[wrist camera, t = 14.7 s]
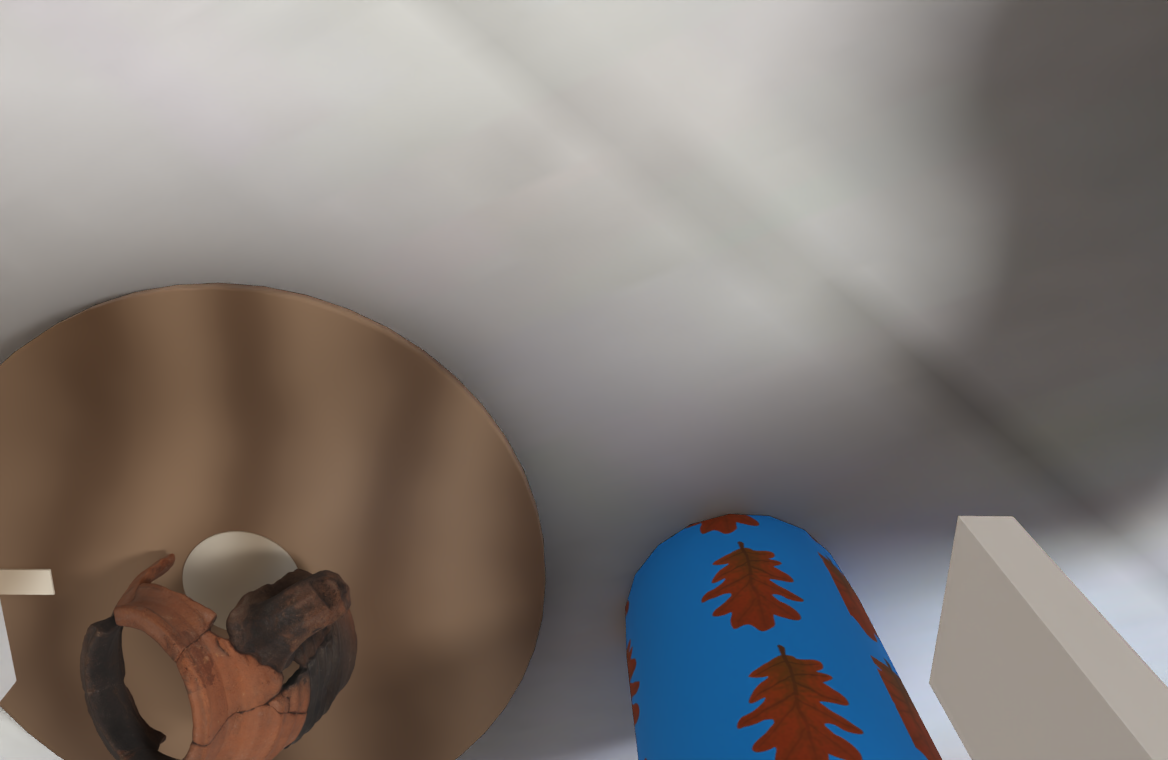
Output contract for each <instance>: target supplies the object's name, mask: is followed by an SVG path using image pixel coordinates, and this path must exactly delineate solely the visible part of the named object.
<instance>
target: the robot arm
mask: <svg viewBox="0 0 1168 760" xmlns="http://www.w3.org/2000/svg"><path fill="white" fill-rule="evenodd" d="M15 682H16V676H15V671H14V666H13V661H12V656H11V651H10V646H9V641H8V636H7V631H6V626H5V621H4V616H3V611H2V606H1V601H0V701H1V700H2V699H3V697H4V696H5V695H6V694H7V692H8V691H9V690H10V689H11V687H12V686H13V685H14V684H15ZM929 684H930V686H931V687H932V689H933V691H934V693H935V695H936V696H937V698H938V700H939V702H940V704H941V705H942V707H943V709H944V711H945V713H946V714H947V716H948V718H949V720H950V721H951V723H952V725H953V727H954V729H955V730H956V732H957V734H958V736H959V738H960V739H961V741H962V743H963V745H964V747H965V748H966V750H967V752H968V754H969V756H970V757H971V759H972V760H1168V687H1167V686H1166V685H1165V684H1164V683H1163V682H1162V681H1161V680H1160V678H1159V677H1158V676H1157V675H1156V674H1155V673H1154V672H1153V671H1152V670H1151V669H1150V667H1149V666H1148V665H1147V664H1146V663H1145V662H1144V661H1143V660H1142V659H1141V657H1140V656H1139V655H1138V654H1137V653H1136V652H1135V651H1134V650H1133V649H1132V648H1131V646H1130V645H1129V644H1128V643H1127V642H1126V641H1125V640H1124V639H1123V638H1122V636H1121V635H1120V634H1119V633H1118V632H1117V631H1116V630H1115V629H1114V628H1113V627H1112V625H1111V624H1110V623H1109V622H1108V621H1107V620H1106V619H1105V618H1104V617H1103V615H1102V614H1101V613H1100V612H1099V611H1098V610H1097V609H1096V608H1095V607H1094V605H1093V604H1092V603H1091V602H1090V601H1089V600H1088V599H1087V598H1086V597H1085V596H1084V594H1083V593H1082V592H1081V591H1080V590H1079V589H1078V588H1077V587H1076V586H1075V584H1074V583H1073V582H1072V581H1071V580H1070V579H1069V578H1068V577H1067V576H1066V575H1065V573H1064V572H1063V571H1062V570H1061V569H1060V568H1059V567H1058V566H1057V565H1056V563H1055V562H1054V561H1053V560H1052V559H1051V558H1050V557H1049V556H1048V555H1047V553H1046V552H1045V551H1044V550H1043V549H1042V548H1041V547H1040V546H1039V545H1038V544H1037V542H1036V541H1035V540H1034V539H1033V538H1032V537H1031V536H1030V535H1029V534H1028V532H1027V531H1026V530H1025V529H1024V528H1023V527H1022V526H1021V525H1020V524H1019V523H1018V521H1017V520H1016V519H1015V518H1014V517H1013V516H958V520H957V525H956V531H955V537H954V543H953V548H952V554H951V560H950V566H949V571H948V577H947V583H946V589H945V594H944V600H943V606H942V612H941V617H940V623H939V629H938V635H937V640H936V646H935V652H934V658H933V663H932V669H931V675H930V681H929Z"/></svg>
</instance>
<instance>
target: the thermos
mask: <svg viewBox="0 0 1168 760" xmlns="http://www.w3.org/2000/svg"><path fill="white" fill-rule="evenodd" d="M625 611H626V650H627V664H628V673H629V683H630V692H631V700H632V709H633V717H634V726H635V735H636V743H637V752H638V760H942V758H941V757H940V755H939V753H938V751H937V749H936V747H935V745H934V743H933V741H932V739H931V737H930V735H929V733H928V731H927V730H926V728H925V726H924V724H923V722H922V720H921V718H920V716H919V714H918V712H917V710H916V708H915V706H914V704H913V703H912V701H911V699H910V697H909V695H908V693H907V691H906V689H905V687H904V685H903V683H902V681H901V679H900V677H899V676H898V674H897V672H896V670H895V668H894V666H893V664H892V662H891V660H890V658H889V656H888V654H887V652H886V651H885V649H884V647H883V645H882V643H881V641H880V639H879V637H878V635H877V633H876V631H875V629H874V627H873V625H872V624H871V622H870V620H869V618H868V616H867V614H866V612H865V610H864V608H863V606H862V604H861V602H860V600H859V598H858V597H857V595H856V593H855V592H854V590H853V589H852V587H851V586H850V584H849V582H848V581H847V579H846V578H845V576H844V575H843V573H842V572H841V570H840V568H839V567H838V565H837V564H836V562H835V561H834V559H833V557H832V556H831V554H830V553H829V552H828V551H827V550H826V549H825V548H823V547H822V546H821V545H820V544H819V543H818V542H817V541H816V540H815V539H814V538H812V537H811V536H810V535H809V534H808V533H807V532H806V531H805V530H803V529H801V528H798V527H796V526H793V525H791V524H788V523H786V522H783V521H781V520H778V519H775V518H773V517H770V516H760V515H739V514H728V515H724V516H720V517H717V518H713V519H709V520H705V521H702V522H698V523H694V524H691V525H689V526H688V527H686V528H684V529H683V530H681V531H680V532H678V533H677V534H675V535H674V536H672V537H671V538H669V539H667V540H666V541H664V542H663V543H661V544H660V545H658V546H657V548H656V549H655V550H654V551H653V553H652V554H651V555H650V556H649V558H648V559H647V560H646V562H645V563H644V564H643V565H642V567H641V568H640V569H639V571H638V572H637V573H636V574H635V577H634V581H633V584H632V587H631V591H630V594H629V597H628V601H627V604H626V607H625Z"/></svg>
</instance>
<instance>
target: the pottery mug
mask: <svg viewBox="0 0 1168 760" xmlns="http://www.w3.org/2000/svg"><path fill="white" fill-rule="evenodd" d="M174 562H175V555H174V554H169V555H167V556H166V557H164V558H162V559H159V560H158V561H156V562H155V563H153V564H152V565H151V566H150V567H149V568H147V569H145V570H144V571H143V572H141V573H140V574H139V575H138V576H137V577H136V578H135V579H134V580H133V581H132V583H131V584H130V585H129V587H128V589H127V590H126V591H125V593H124V594H123V595H122V597H121V599H120V600H119V601H118V603H117V605H116V606H115V608H114V610H113V612H112V615H111V617H108V618H106V619H104V620H101V621H98V622H95V623H93V624H91V625H90V626H89V627H88V629H87V632H86V635H85V636H84V640H83V643H82V650H81V655H80V677H81V682H82V688H83V690H84V692H85V701H86V705H87V710H88V713H89V715H90V717H91V718H92V721H93V723H94V726H95V728H96V731H97V733H98V735H99V736H100V738H101V740H102V741H103V743H104V745H105V747H106V748H107V750H108V751H109V752H110V754H111V755H112V756H113V757H114V758H115V759H116V760H179V759H175V758H173V757H170V756H167V755H165V754H163V753H161V752H159V751H158V750H159V747H160V744H161V743H163V742H164V741H165V740H166V735H165V734H163V733H162V732H160V731H158V730H155V729H153V728H152V727H150V726H149V725H148V724H147V723H146V721H145V720H144V719H143V718H142V717H141V715H140V714H139V711H138V709H137V706H136V704H135V701H134V699H133V696H132V694H131V692H130V691H129V689H128V687H127V686H126V685H125V683H124V677H125V673H126V672H125V662H124V658H123V651H122V630H123V627H124V626H125V627H131V628H134V629H138V630H141V631H143V632H144V633H146V634H147V635H149V636H150V637H151V638H152V639H154V640H155V641H156V642H157V643H158V644H159V645H160V646H161V647H162V648H163V650H164V651H165V652H166V653H167V654H168V655H169V656H170V657H171V659H172V660H173V661H174V662H175V663H176V665H177V668H178V670H179V673H180V675H181V677H182V679H183V681H184V684H185V688H186V691H187V694H188V698H189V702H190V705H191V712H192V721H193V730H192V742H191V744H190V747H189V750H188V752H187V754H186V756H185V757H184V758H183V759H182V760H272V759H273V758H274V757H275V756H276V755H278V753H279V752H280V751H281V750H282V749H287V748H288V747H289V746H290V745H292V744H294V743H296V742H297V741H299V740H300V739H301V738H302V736H303V735H304V734H306V733H307V732H308V731H310V729H311V728H312V727H313V726H314V724H315V723H316V722H318V721H319V720H320V719H321V717H322V716H323V715H324V714H326V713H327V711H328V710H329V708H330V706H331V704H332V702H333V701H334V699H335V698H336V696H337V695H338V694H339V693H340V692H341V690H342V689H343V688H344V687H345V686H346V684H347V683H348V681H349V679H350V677H351V674H352V672H353V670H354V667H355V660H356V654H357V635H356V631H355V625H354V621H353V618H352V614H351V611H350V609H349V608H350V606H351V598H350V588H349V586H348V584H347V583H346V582H344V580H343V579H342V578H341V576H340V575H339V574H337V573H335V572H332V571H329V570H323V571H319V572H317V573H314V574H312V573H310V572H308V571H305V570H302V569H295V570H294V571H293V572H288V573H287V574H286V575H284V576H283V577H282V578H281V579H279V580H277V581H276V582H275V583H274V584H266V585H263V586H261V587H260V588H258V589H256V590H255V591H250V592H248V593H246V594H245V595H243V596H242V597H241V599H240V600H239V602H238V603H237V605H236V606H235V608H234V609H233V610H232V611H231V612H230V613H229V615H228V618H227V620H226V630H227V633H228V635H229V639H227V638H223V637H220V636H218V635H217V634H215V633H214V632H212V631H211V627H212V626H213V624H214V622H215V621H216V619H217V614H216V613H215V612H214V611H213V610H211V609H210V608H207V607H205V606H204V605H202V604H200V603H198V602H196V601H194V600H193V599H191V598H190V597H188V596H186V595H185V594H182V593H178V592H175V591H172V590H170V589H168V588H166V587H163V586H161V585H158V584H153V583H151V582H152V581H154V580H156V579H157V578H159V577H161V576H162V575H164V574H165V573H166V572H167V571H168V570H169V569H170V568H171V567H172V566H173V565H174ZM292 661H295V662H296V663H297V664H299V669H298V670H296V671H295V672H294V674H293V675H292V676H291V677H290V678H289V679H288V680H287V682H286V683H284V684H283V680H284V675H283V670H284V669H286V668H288V667H289V666H290V665H291V663H292Z"/></svg>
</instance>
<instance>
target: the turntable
mask: <svg viewBox="0 0 1168 760" xmlns="http://www.w3.org/2000/svg"><path fill="white" fill-rule="evenodd" d="M169 554H174V555H175V562H174V565H173V566H172V567H171V568H170V569H169V570H168V571H167V572H166V573H165V574H164V575H162V576H161V577H159V578H157V579H156V580H154V581H152V582H151V583H153V584H158V585H161V586H163V587H166V588H168V589H170V590H172V591H175V592H178V593H182V594H185V595H186V596H188V597H190V598H191V599H193V600H194V601H196V602H198V603H200V604H202V605H204V606H205V607H207V608H210V609H211V610H213V611H214V612H215V613H216V614H217V619H216V621H215V622H214V624H213V626H212V627H211V631H212V632H214V633H215V634H217V635H218V636H220V637H223V638H227V639H229V635H228V633H227V630H226V620H227V618H228V615H229V613H230V612H231V611H232V610H233V609H234V608H235V606H236V605H237V603H238V602H239V600H240V599H241V597H242V596H243V595H245V594H246V593H248V592H250V591H255V590H256V589H258V588H260V587H261V586H263V585H266V584H274V583H275V582H276V581H277V580H279V579H281V578H282V577H283V576H284V575H286V574H287V573H288V572H293V571H294V570H295V569H302V570H305V571H308V572H310V573H312V574H314V573H317V572H319V571H323V570H329V571H332V572H335V573H337V574H339V575H340V576H341V578H342V579H343V580H344V582H346V583H347V584H348V586H349V588H350V598H351V606H350V608H349V609H350V611H351V614H352V618H353V621H354V625H355V631H356V635H357V654H356V660H355V667H354V670H353V672H352V674H351V677H350V679H349V681H348V683H347V684H346V686H345V687H344V688H343V689H342V690H341V692H340V693H339V694H338V695H337V696H336V698H335V699H334V701H333V702H332V704H331V706H330V708H329V710H328V711H327V713H326V714H324V715H323V716H322V717H321V719H320V720H319V721H318V722H316V723H315V724H314V726H313V727H312V728H311V729H310V731H308V732H307V733H306V734H304V735H303V736H302V738H301V739H300V740H299V741H297V742H296V743H294V744H292V745H290V746H289V747H288V748H287V749H282V750H281V751H280V752H279V753H278V755H276V756H275V757H274V758H273V759H272V760H455V759H456V758H458V757H459V756H461V755H462V754H463V753H464V752H465V751H466V750H467V749H468V748H469V747H470V746H471V745H472V744H473V743H474V742H476V741H477V740H478V739H479V738H480V737H481V736H482V735H483V734H484V733H485V732H486V731H487V729H488V728H489V727H490V726H491V725H492V723H493V722H494V721H495V720H496V718H497V717H498V716H499V715H500V713H501V712H502V711H503V710H504V709H505V707H506V706H507V704H508V702H509V701H510V699H511V697H512V696H513V694H514V692H515V691H516V689H517V687H518V686H519V684H520V682H521V680H522V678H523V676H524V674H525V671H526V669H527V666H528V664H529V661H530V659H531V657H532V654H533V652H534V649H535V645H536V641H537V637H538V633H539V629H540V625H541V621H542V615H543V604H544V593H545V557H544V540H543V534H542V529H541V525H540V520H539V515H538V510H537V506H536V502H535V500H534V497H533V494H532V492H531V489H530V486H529V483H528V481H527V478H526V475H525V472H524V470H523V468H522V466H521V464H520V462H519V461H518V459H517V457H516V455H515V453H514V451H513V449H512V448H511V446H510V444H509V442H508V440H507V438H506V437H505V435H504V434H503V432H502V431H501V430H500V428H499V427H498V426H497V424H496V423H495V421H494V420H493V419H492V417H491V416H490V414H489V413H488V412H487V410H486V409H485V408H484V406H483V405H482V404H481V403H480V402H479V401H478V400H477V399H476V398H475V397H474V396H473V394H472V393H471V392H470V391H469V390H468V389H467V388H466V387H465V386H464V385H463V384H462V383H461V382H460V381H459V380H458V379H457V378H456V377H455V376H454V375H453V374H452V373H451V372H449V371H448V370H447V369H446V368H444V367H443V366H442V365H441V364H440V363H438V362H437V361H436V360H435V359H434V358H432V357H431V356H430V355H429V354H427V353H426V352H425V351H424V350H422V349H421V348H419V347H417V346H416V345H414V344H413V343H411V342H410V341H408V340H406V339H405V338H403V337H402V336H400V335H399V334H397V333H395V332H394V331H392V330H391V329H389V328H387V327H385V326H383V325H381V324H379V323H377V322H375V321H373V320H371V319H368V318H366V317H364V316H362V315H360V314H358V313H356V312H354V311H352V310H349V309H347V308H344V307H341V306H338V305H335V304H332V303H329V302H326V301H323V300H320V299H317V298H314V297H311V296H308V295H304V294H299V293H294V292H289V291H284V290H279V289H274V288H269V287H265V286H253V285H241V284H228V283H206V284H184V285H173V286H167V287H162V288H156V289H150V290H145V291H139V292H134V293H131V294H128V295H125V296H121V297H118V298H115V299H112V300H109V301H106V302H103V303H100V304H96V305H94V306H92V307H90V308H88V309H86V310H84V311H82V312H79V313H77V314H75V315H73V316H71V317H69V318H67V319H65V320H63V321H61V322H59V323H57V324H56V325H54V326H53V327H51V328H50V329H48V330H47V331H45V332H44V333H42V334H41V335H39V336H38V337H36V338H35V339H33V340H32V341H30V342H29V343H27V344H26V345H24V346H23V347H22V348H20V349H19V350H17V351H16V352H14V353H13V354H12V355H11V356H10V357H9V358H8V359H7V360H6V361H5V362H3V363H2V364H1V365H0V601H1V606H2V611H3V616H4V621H5V626H6V631H7V636H8V641H9V646H10V651H11V656H12V661H13V666H14V671H15V676H16V682H15V684H14V685H13V686H12V687H11V689H10V690H9V691H8V692H7V694H6V695H5V696H4V697H3V699H2V700H1V701H0V706H1V707H2V708H3V709H4V710H5V711H6V712H7V713H8V714H9V715H10V716H11V717H12V718H13V719H14V720H15V721H16V722H17V723H18V724H19V725H20V726H21V727H22V728H24V729H25V730H26V731H27V732H28V733H29V734H30V735H31V736H33V737H34V738H35V739H37V740H38V741H39V742H41V743H42V744H43V745H44V746H46V747H47V748H48V749H50V750H51V751H52V752H53V753H55V754H56V755H57V756H59V757H61V758H62V759H64V760H116V759H115V758H114V757H113V756H112V755H111V754H110V752H109V751H108V750H107V748H106V747H105V745H104V743H103V741H102V740H101V738H100V736H99V735H98V733H97V731H96V728H95V726H94V723H93V721H92V718H91V717H90V715H89V713H88V710H87V705H86V701H85V692H84V690H83V688H82V682H81V677H80V655H81V650H82V643H83V640H84V636H85V635H86V632H87V629H88V627H89V626H90V625H91V624H93V623H95V622H98V621H101V620H104V619H106V618H108V617H111V615H112V612H113V610H114V608H115V606H116V605H117V603H118V601H119V600H120V599H121V597H122V595H123V594H124V593H125V591H126V590H127V589H128V587H129V585H130V584H131V583H132V581H133V580H134V579H135V578H136V577H137V576H138V575H139V574H140V573H141V572H143V571H144V570H145V569H147V568H149V567H150V566H151V565H152V564H153V563H155V562H156V561H158V560H159V559H162V558H164V557H166V556H167V555H169ZM122 651H123V658H124V662H125V672H126V673H125V677H124V683H125V685H126V686H127V687H128V689H129V691H130V692H131V694H132V696H133V699H134V701H135V704H136V706H137V709H138V711H139V714H140V715H141V717H142V718H143V719H144V720H145V721H146V723H147V724H148V725H149V726H150V727H152V728H153V729H155V730H158V731H160V732H162V733H163V734H165V735H166V740H165V741H164V742H163V743H161V744H160V747H159V750H158V751H159V752H161V753H163V754H165V755H167V756H170V757H173V758H175V759H179V760H182V759H183V758H184V757H185V756H186V754H187V752H188V750H189V747H190V744H191V742H192V730H193V721H192V712H191V705H190V702H189V698H188V694H187V691H186V688H185V684H184V681H183V679H182V677H181V675H180V673H179V670H178V668H177V665H176V663H175V662H174V661H173V660H172V659H171V657H170V656H169V655H168V654H167V653H166V652H165V651H164V650H163V648H162V647H161V646H160V645H159V644H158V643H157V642H156V641H155V640H154V639H152V638H151V637H150V636H149V635H147V634H146V633H144V632H143V631H141V630H138V629H134V628H131V627H125V626H124V627H123V630H122ZM298 669H299V664H297V663H296V662H295V661H292V663H291V665H290V666H289V667H288V668H286V669H284V670H283V675H284V680H283V684H284V683H286V682H287V680H288V679H289V678H290V677H291V676H292V675H293V674H294V672H295V671H296V670H298Z"/></svg>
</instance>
